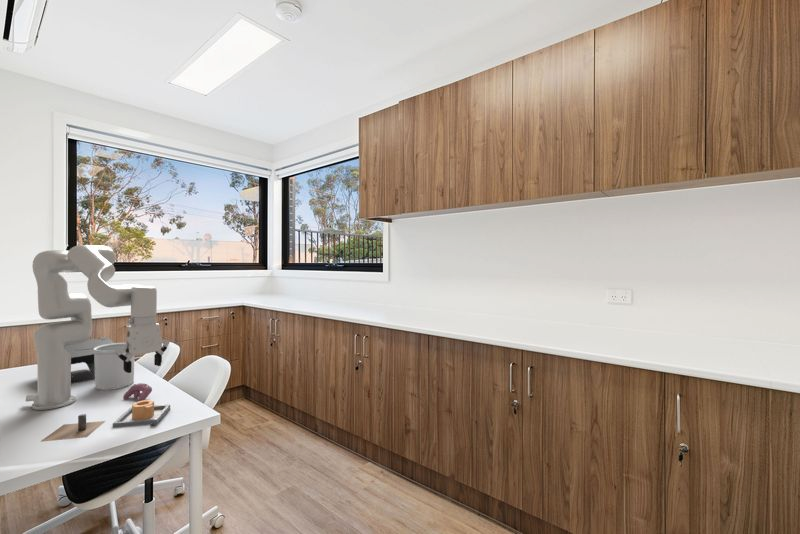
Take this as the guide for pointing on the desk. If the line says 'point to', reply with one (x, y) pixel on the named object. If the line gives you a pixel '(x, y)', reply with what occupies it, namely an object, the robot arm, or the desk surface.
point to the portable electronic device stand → (85, 357)
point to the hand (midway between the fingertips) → (143, 368)
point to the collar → (143, 410)
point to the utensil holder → (111, 368)
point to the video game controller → (138, 391)
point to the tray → (140, 422)
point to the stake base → (74, 430)
